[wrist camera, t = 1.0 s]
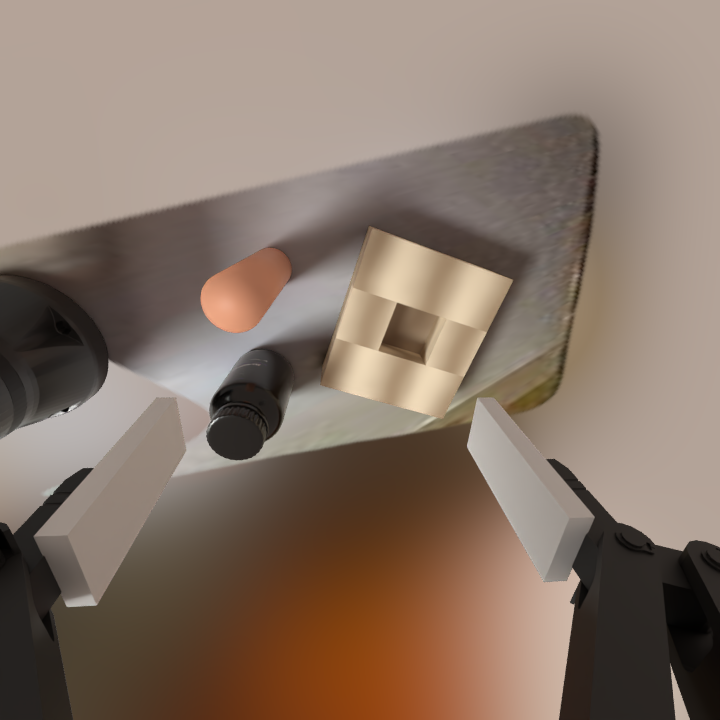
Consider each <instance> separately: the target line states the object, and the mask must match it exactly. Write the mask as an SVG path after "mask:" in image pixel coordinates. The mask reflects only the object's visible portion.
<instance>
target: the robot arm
mask: <svg viewBox="0 0 720 720" xmlns="http://www.w3.org/2000/svg"><path fill="white" fill-rule="evenodd" d="M107 372H108V354H107V349H106V346H105V343H104V340H103V338H102V336H101V334H100V332H99V330H98V328H97V327H96V325H95V324H94V322H93V321H92V320H91V318H90V317H89V316H88V315H87V314H86V313H85V312H84V311H83V310H82V309H81V308H80V307H79V306H78V305H77V304H76V303H75V302H73V301H72V300H71V299H70V298H68V297H67V296H65V295H64V294H62V293H61V292H59V291H57V290H56V289H54V288H52V287H50V286H48V285H45V284H43V283H41V282H38V281H35V280H32V279H28V278H24V277H19V276H12V275H0V439H2V438H3V437H5V436H6V435H8V434H9V433H11V432H12V431H14V430H15V429H18V428H21V427H24V426H28V425H30V424H34V423H37V422H40V421H43V420H45V419H47V418H51V417H56V416H59V415H62V414H65V413H68V412H70V411H72V410H74V409H76V408H77V407H79V406H80V405H82V404H83V403H84V402H86V401H87V400H88V399H90V398H91V397H92V396H94V395H95V394H96V393H97V392H98V391H99V389H100V388H101V387H102V385H103V383H104V381H105V379H106V376H107ZM467 447H468V449H469V451H470V453H471V455H472V456H473V458H474V460H475V462H476V463H477V465H478V467H479V469H480V470H481V472H482V474H483V476H484V478H485V479H486V481H487V483H488V484H489V486H490V488H491V490H492V492H493V493H494V495H495V497H496V499H497V501H498V502H499V504H500V505H501V508H502V509H503V511H504V513H505V515H506V516H507V518H508V520H509V522H510V523H511V525H512V527H513V529H514V530H515V532H516V534H517V536H518V538H519V539H520V541H521V543H522V545H523V546H524V548H525V550H526V552H527V553H528V555H529V557H530V559H531V560H532V562H533V564H534V566H535V567H536V569H537V571H538V572H539V575H540V576H541V578H542V580H543V582H552V581H567V579H568V577H569V574H570V572H571V570H572V568H573V569H574V570H575V572H576V573H577V575H578V576H579V578H580V579H581V580H580V582H579V584H578V586H577V588H576V590H575V592H574V595H573V597H572V599H571V601H570V603H572V604H575V607H574V614H573V621H572V628H571V636H570V643H569V651H568V658H567V665H566V672H565V680H564V687H563V694H562V702H561V709H560V716H559V720H675V710H674V700H673V690H672V679H671V668H670V664H671V667H672V670H673V673H674V675H675V678H676V681H677V684H678V687H679V689H680V692H681V695H682V698H683V701H684V704H685V706H686V709H687V712H688V715H689V718H690V720H720V548H719V547H718V546H715V545H712V544H710V543H707V542H703V541H697V540H695V541H690V542H689V543H688V544H687V546H686V548H685V549H684V551H679V550H674V549H670V548H666V547H662V546H658V545H655V544H654V543H653V542H652V541H651V540H650V539H649V538H648V537H647V536H646V535H644V534H643V533H642V532H640V531H638V530H636V529H635V528H633V527H631V526H628V525H625V524H622V523H617V522H616V521H615V520H614V519H613V518H612V516H611V515H610V514H609V513H608V512H607V511H606V510H605V509H604V508H603V507H602V505H601V504H600V503H599V502H598V501H597V500H596V499H595V498H594V497H593V495H592V494H591V493H590V492H589V491H588V490H586V488H585V487H584V486H583V484H582V483H581V482H580V481H578V479H577V478H576V477H575V475H574V474H573V473H572V472H571V471H570V470H569V469H568V468H567V467H565V466H564V465H562V464H561V463H560V462H558V461H557V460H555V459H545V458H544V457H543V455H542V454H541V453H540V452H539V451H538V449H537V448H536V447H535V446H534V445H533V443H532V442H531V441H530V440H529V439H528V438H527V436H526V435H525V434H524V433H523V432H522V431H521V429H520V428H519V427H518V426H517V425H516V423H515V422H514V421H513V420H512V419H511V418H510V416H509V415H508V414H507V413H506V412H505V410H504V409H503V408H502V407H501V406H500V405H499V403H498V402H497V401H496V400H495V399H494V398H477V403H476V407H475V412H474V417H473V421H472V426H471V431H470V435H469V440H468V445H467ZM185 452H186V447H185V442H184V437H183V432H182V427H181V422H180V416H179V411H178V406H177V401H176V398H156V399H155V400H154V401H153V403H152V404H151V405H150V406H149V407H148V408H147V409H146V411H144V413H143V414H142V415H141V416H140V417H139V418H138V419H137V421H136V422H135V423H134V424H133V425H132V426H131V427H130V428H129V430H128V431H127V432H126V433H125V434H124V435H123V436H122V437H121V439H120V440H119V441H118V442H117V443H116V444H115V445H114V447H112V449H111V450H110V451H109V452H108V453H107V454H106V455H105V456H104V458H103V459H102V460H101V461H100V462H99V463H98V464H97V466H96V467H95V468H83V469H81V470H80V471H78V472H77V473H75V474H73V475H72V476H70V477H69V478H67V479H66V480H65V481H64V482H63V483H62V484H61V485H60V486H59V487H58V488H57V489H56V490H55V491H54V492H53V495H50V497H49V498H48V499H47V500H46V501H45V502H44V503H43V506H40V507H39V508H38V509H37V510H36V511H35V512H34V513H33V514H32V515H31V516H30V517H29V519H28V520H27V521H26V522H25V523H24V524H23V525H22V526H21V527H20V528H19V529H18V530H17V531H16V532H15V533H14V535H12V533H11V531H10V529H9V527H8V526H7V524H5V523H0V720H73V716H72V711H71V705H70V700H69V695H68V689H67V684H66V679H65V673H64V668H63V663H62V657H61V652H60V647H59V641H58V635H57V630H56V625H55V619H54V615H53V613H52V611H51V609H50V608H51V606H52V605H53V604H54V602H55V601H56V599H57V598H58V597H59V595H60V594H61V595H62V597H63V599H64V602H65V604H66V606H67V607H75V606H94V605H97V604H98V602H99V600H100V599H101V597H102V595H103V594H104V592H105V590H106V588H107V587H108V585H109V583H110V581H111V580H112V578H113V576H114V574H115V573H116V571H117V569H118V568H119V566H120V564H121V562H122V561H123V559H124V557H125V556H126V554H127V552H128V550H129V549H130V547H131V545H132V543H133V542H134V540H135V538H136V537H137V535H138V533H139V531H140V530H141V528H142V526H143V524H144V523H145V521H146V519H147V518H148V516H149V514H150V512H151V511H152V509H153V507H154V505H155V504H156V502H157V500H158V499H159V497H160V495H161V493H162V492H163V489H164V488H165V486H166V485H167V483H168V481H169V480H170V478H171V476H172V474H173V473H174V471H175V469H176V467H177V466H178V464H179V462H180V461H181V459H182V457H183V455H184V454H185Z"/></svg>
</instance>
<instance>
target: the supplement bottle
mask: <svg viewBox="0 0 720 720" xmlns="http://www.w3.org/2000/svg"><path fill="white" fill-rule="evenodd" d="M293 384H294V373H293V370H292V367H291V365H290V364H289V362H288V361H287V360H286V359H285V358H284V357H283V356H281V355H280V354H278V353H276V352H274V351H271V350H265V349H258V350H253V351H250V352H248V353H246V354H244V355H243V356H242V357H241V358H240V359H239V360H238V361H237V363H236V364H235V365H234V367H233V368H232V370H231V371H230V373H229V374H228V375H227V377H226V378H225V380H224V381H223V383H222V384H221V385H220V387H219V388H218V390H217V391H216V393H215V394H214V396H213V398H212V400H211V402H210V407H209V414H210V419H211V422H210V424H209V425H208V429H207V435H206V437H207V441H208V443H209V446H211V448H212V450H214V451H215V452H216V453H217V454H219V455H220V456H223V457H224V458H228V459H230V460H243V459H248V458H252V457H253V456H255V455H256V454H257V453H258V452H259V451H260V449H261V448H262V447H263V444H264V442H265V441H267V440H269V439H270V438H272V437H273V436H274V435H275V434H276V433H277V432H278V430H279V429H280V427H281V425H282V422H283V419H284V415H285V412H286V409H287V405H288V402H289V398H290V395H291V392H292V388H293Z"/></svg>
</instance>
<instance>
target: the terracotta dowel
mask: <svg viewBox="0 0 720 720" xmlns="http://www.w3.org/2000/svg"><path fill="white" fill-rule="evenodd" d="M291 272H292V267H291V263H290V261H289V259H288V257H287V256H286V255H285V254H284V253H283V252H282V251H280V250H278V249H275V248H264V249H262V250H260V251H258V252H256V253H254V254H252V255H251V256H249V257H247V258H245V259H243V260H241V261H240V262H238V263H236V264H234V265H232V266H230V267H229V268H227V269H225V270H223V271H221V272H219V273H218V274H216V275H214V276H212V277H211V278H210V279H208V280H207V282H206V283H205V284H204V286H203V288H202V291H201V306H202V309H203V311H204V313H205V315H206V317H207V318H208V319H209V320H210V321H211V322H212V323H213V324H214V325H215V326H217V327H218V328H220V329H222V330H224V331H228V332H233V333H240V332H245V331H248V330H250V329H252V328H254V327H255V326H256V325H257V324H258V323H259V321H260V320H261V319H262V317H263V316H264V314H265V313H266V312H267V310H268V309H269V307H270V306H271V304H272V303H273V302H274V300H275V299H276V297H277V296H278V294H279V293H280V292H281V290H282V289H283V287H284V286H285V284H286V283H287V282H288V280H289V278H290V276H291Z"/></svg>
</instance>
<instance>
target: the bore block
mask: <svg viewBox="0 0 720 720" xmlns="http://www.w3.org/2000/svg"><path fill="white" fill-rule="evenodd" d="M512 282H513V280H512V279H509V278H507V277H505V276H502V275H500V274H498V273H495V272H493V271H490V270H487V269H485V268H482V267H479V266H476V265H474V264H471V263H468V262H466V261H463V260H460V259H458V258H455V257H452V256H449V255H447V254H444V253H441V252H439V251H436V250H433V249H430V248H428V247H425V246H422V245H420V244H417V243H414V242H412V241H409V240H406V239H403V238H401V237H398V236H395V235H393V234H390V233H387V232H384V231H382V230H379V229H376V228H374V227H371V226H369V227H368V230H367V233H366V236H365V239H364V242H363V245H362V248H361V251H360V254H359V257H358V260H357V263H356V266H355V269H354V272H353V275H352V278H351V281H350V284H349V288H348V291H347V294H346V297H345V300H344V303H343V306H342V309H341V312H340V315H339V318H338V321H337V324H336V327H335V330H334V333H333V336H332V339H331V342H330V345H329V348H328V351H327V354H326V357H325V360H324V363H323V366H322V374H321V383H320V385H322V386H325V387H329V388H333V389H336V390H340V391H344V392H347V393H351V394H354V395H358V396H362V397H365V398H369V399H373V400H376V401H380V402H383V403H387V404H391V405H394V406H398V407H402V408H405V409H409V410H413V411H416V412H420V413H423V414H427V415H431V416H434V417H438V418H442V419H443V417H444V415H445V413H446V411H447V409H448V407H449V405H450V403H451V401H452V399H453V397H454V395H455V394H456V392H457V390H458V388H459V386H460V384H461V382H462V380H463V378H464V376H465V374H466V372H467V370H468V368H469V366H470V364H471V362H472V360H473V358H474V356H475V354H476V352H477V350H478V348H479V346H480V345H481V343H482V341H483V339H484V337H485V335H486V333H487V331H488V329H489V327H490V325H491V323H492V321H493V319H494V317H495V315H496V313H497V311H498V309H499V307H500V305H501V303H502V301H503V299H504V298H505V296H506V294H507V292H508V290H509V288H510V286H511V284H512Z"/></svg>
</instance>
